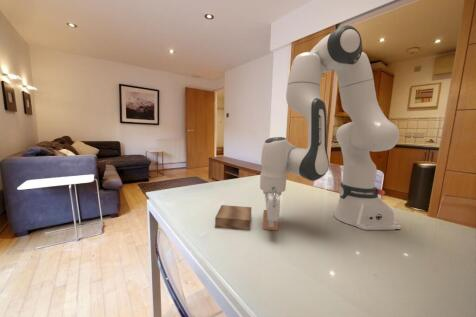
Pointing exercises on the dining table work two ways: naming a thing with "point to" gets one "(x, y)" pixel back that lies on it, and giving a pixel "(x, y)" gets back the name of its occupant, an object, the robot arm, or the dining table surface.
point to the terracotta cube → (265, 222)
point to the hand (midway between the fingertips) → (270, 222)
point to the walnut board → (233, 217)
